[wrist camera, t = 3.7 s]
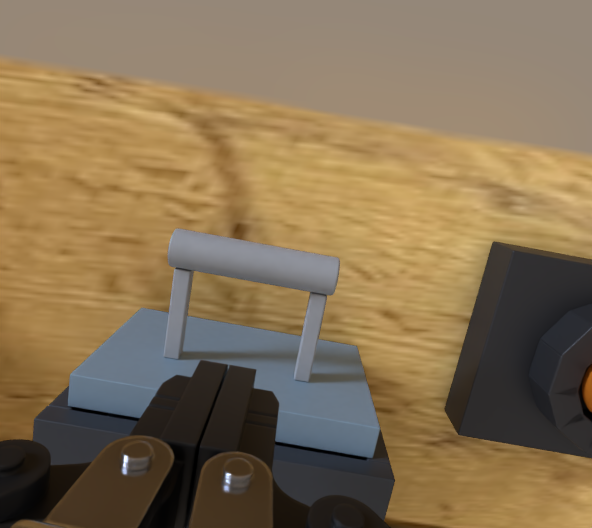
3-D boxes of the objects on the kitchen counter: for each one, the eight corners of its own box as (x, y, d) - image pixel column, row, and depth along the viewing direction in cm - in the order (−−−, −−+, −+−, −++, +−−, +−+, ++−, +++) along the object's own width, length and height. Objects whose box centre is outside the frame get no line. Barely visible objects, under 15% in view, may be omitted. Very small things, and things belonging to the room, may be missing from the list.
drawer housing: (133, 321, 23) (33, 418, 14) (361, 362, 23) (395, 480, 15) (108, 545, 26) (15, 732, 17) (310, 578, 26) (314, 778, 18)
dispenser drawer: (152, 204, 20) (80, 227, 14) (380, 246, 21) (416, 289, 14) (116, 526, 24) (47, 663, 18) (308, 557, 25) (310, 705, 18)
